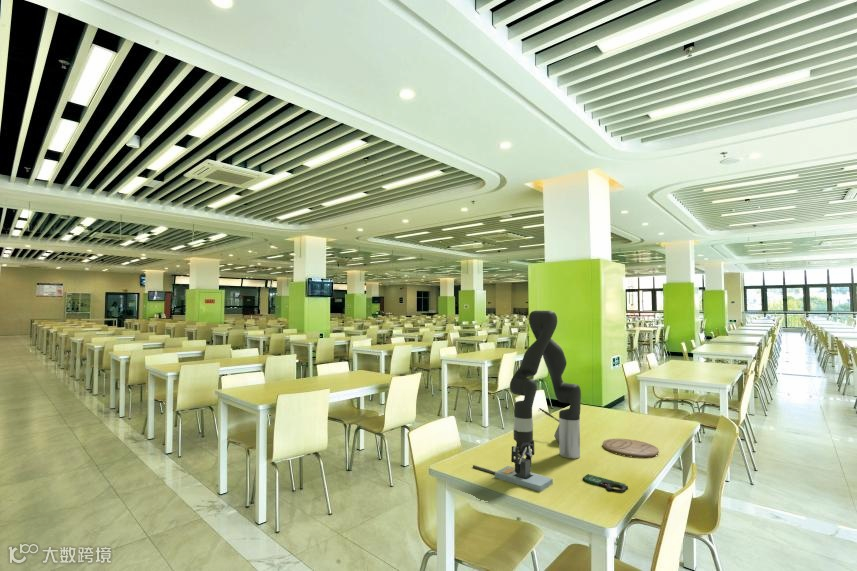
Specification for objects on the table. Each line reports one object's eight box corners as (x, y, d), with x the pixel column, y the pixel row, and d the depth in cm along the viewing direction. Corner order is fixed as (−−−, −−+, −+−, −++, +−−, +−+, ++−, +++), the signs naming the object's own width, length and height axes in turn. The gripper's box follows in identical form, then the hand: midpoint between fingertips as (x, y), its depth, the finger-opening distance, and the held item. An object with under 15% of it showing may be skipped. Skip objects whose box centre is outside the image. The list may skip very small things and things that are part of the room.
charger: (521, 477, 170) (521, 457, 171) (530, 480, 168) (530, 459, 168) (516, 480, 167) (516, 460, 168) (525, 483, 165) (525, 462, 165)
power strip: (482, 463, 187) (482, 458, 187) (552, 483, 165) (552, 478, 165) (468, 469, 179) (468, 463, 179) (540, 491, 157) (540, 485, 157)
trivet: (664, 449, 210) (664, 445, 210) (651, 462, 191) (651, 458, 191) (611, 439, 226) (611, 435, 226) (595, 450, 207) (595, 446, 207)
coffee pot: (581, 442, 219) (581, 412, 220) (571, 447, 211) (571, 416, 212) (543, 433, 234) (543, 406, 235) (533, 438, 226) (533, 409, 227)
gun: (578, 480, 166) (588, 473, 174) (578, 483, 166) (588, 476, 174) (621, 492, 155) (630, 484, 163) (621, 496, 155) (630, 488, 163)
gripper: (523, 423, 177) (523, 463, 176) (505, 430, 166) (505, 472, 165) (540, 426, 172) (540, 467, 171) (522, 433, 161) (522, 477, 160)
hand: (523, 469), depth 168 cm, fingers open, 8 cm apart
